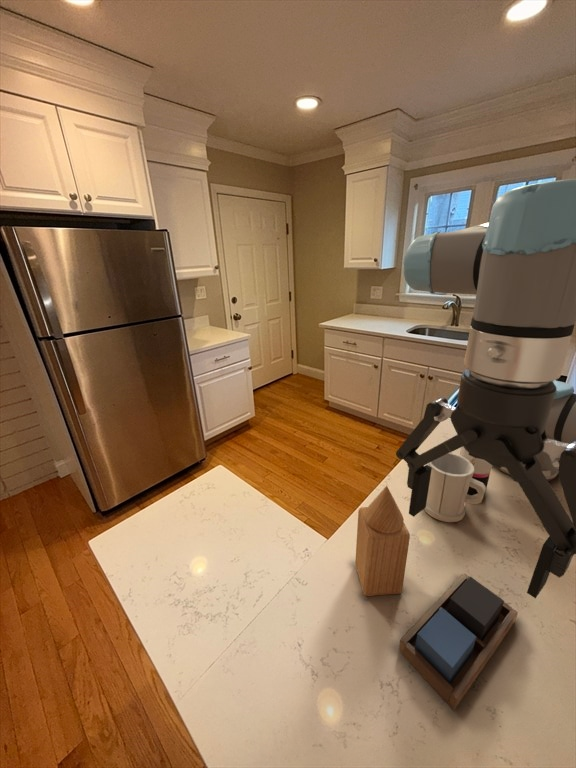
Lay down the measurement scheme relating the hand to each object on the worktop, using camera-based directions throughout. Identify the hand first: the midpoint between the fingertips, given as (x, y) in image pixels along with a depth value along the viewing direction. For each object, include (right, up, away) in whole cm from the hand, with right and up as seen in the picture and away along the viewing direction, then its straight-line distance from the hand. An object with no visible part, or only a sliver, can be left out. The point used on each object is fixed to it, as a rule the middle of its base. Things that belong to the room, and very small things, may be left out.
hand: (468, 544), depth 38 cm
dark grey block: (+7, -17, +12) cm, 22 cm away
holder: (+4, -18, +10) cm, 21 cm away
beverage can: (+22, -7, +39) cm, 45 cm away
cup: (+14, -9, +33) cm, 37 cm away
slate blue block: (0, -19, +7) cm, 20 cm away
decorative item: (-6, -15, +19) cm, 25 cm away
